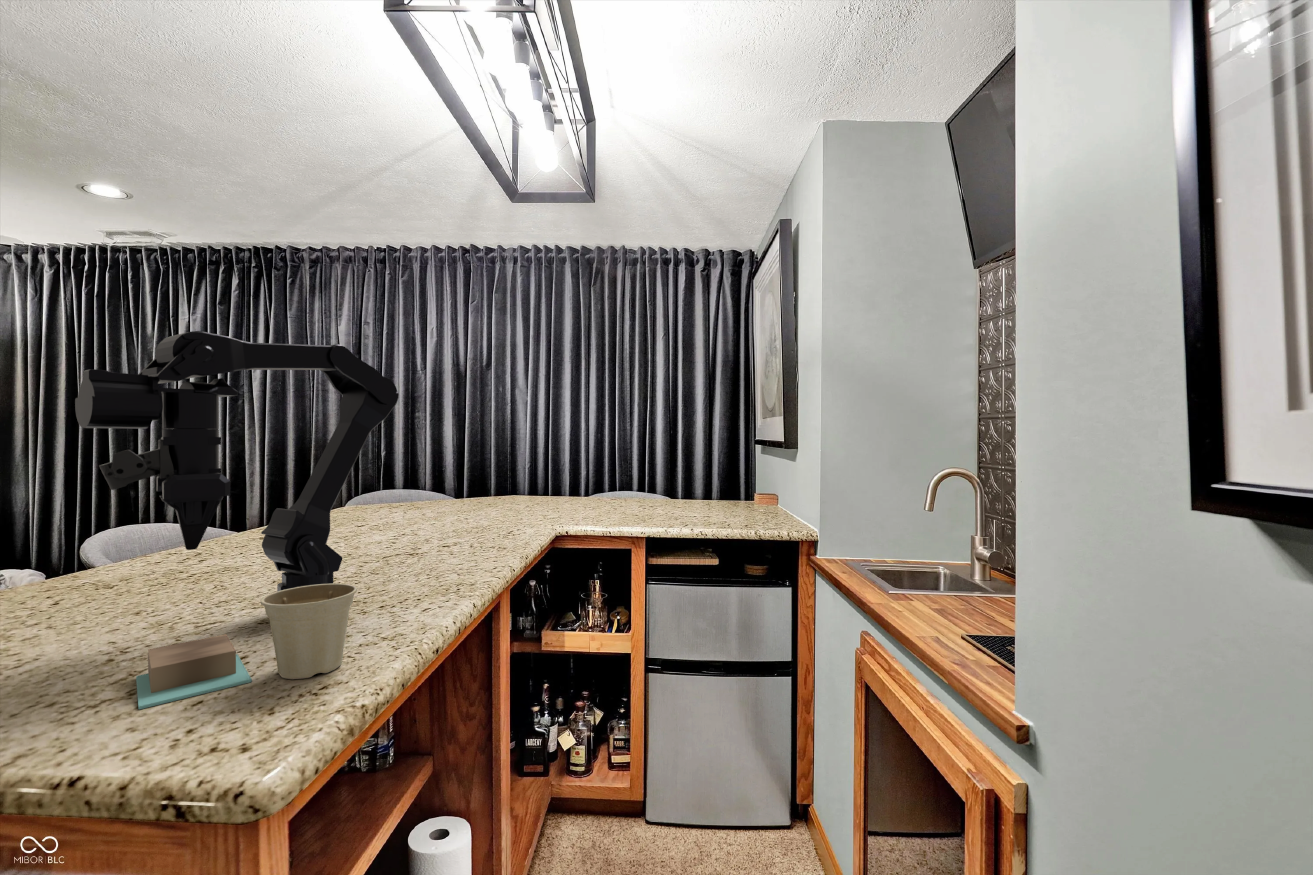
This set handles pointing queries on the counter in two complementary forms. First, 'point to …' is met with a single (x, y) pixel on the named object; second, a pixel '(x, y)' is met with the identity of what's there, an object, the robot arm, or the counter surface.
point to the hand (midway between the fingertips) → (191, 549)
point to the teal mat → (188, 687)
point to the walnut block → (190, 662)
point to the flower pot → (309, 627)
